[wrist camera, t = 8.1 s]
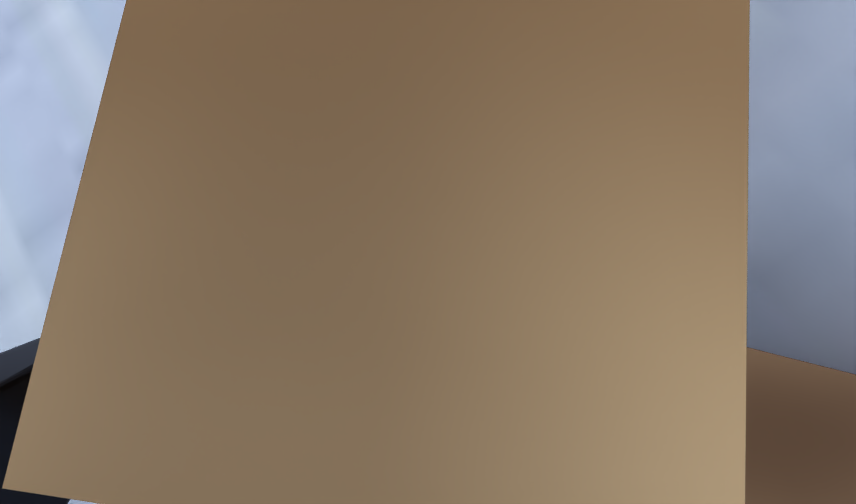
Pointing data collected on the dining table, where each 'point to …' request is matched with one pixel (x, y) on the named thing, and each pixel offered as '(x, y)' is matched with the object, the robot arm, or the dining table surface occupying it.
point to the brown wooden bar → (799, 432)
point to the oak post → (404, 259)
